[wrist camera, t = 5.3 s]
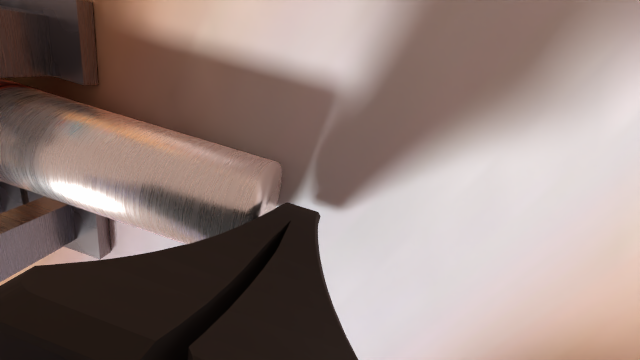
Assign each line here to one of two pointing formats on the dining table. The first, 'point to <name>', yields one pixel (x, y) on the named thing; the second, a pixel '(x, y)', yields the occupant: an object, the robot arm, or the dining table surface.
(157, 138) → the silver cylinder
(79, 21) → the grey holder stand
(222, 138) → the dining table surface
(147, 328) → the robot arm
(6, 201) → the collar
